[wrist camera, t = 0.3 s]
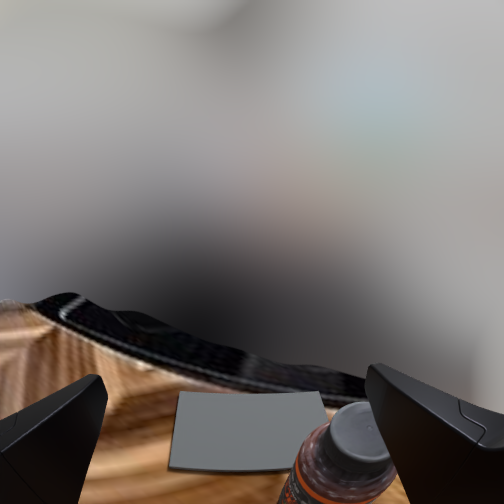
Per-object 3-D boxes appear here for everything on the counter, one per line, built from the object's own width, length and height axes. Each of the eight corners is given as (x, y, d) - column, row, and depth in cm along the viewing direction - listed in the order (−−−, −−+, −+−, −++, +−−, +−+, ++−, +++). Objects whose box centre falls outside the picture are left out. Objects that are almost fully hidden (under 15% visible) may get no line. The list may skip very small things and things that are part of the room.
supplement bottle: (264, 491, 17) (287, 404, 13) (330, 467, 19) (377, 374, 15) (295, 549, 11) (351, 498, 8) (366, 516, 13) (443, 438, 10)
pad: (340, 462, 19) (342, 460, 19) (169, 468, 18) (169, 466, 18) (317, 393, 27) (318, 391, 27) (180, 393, 26) (180, 391, 26)
